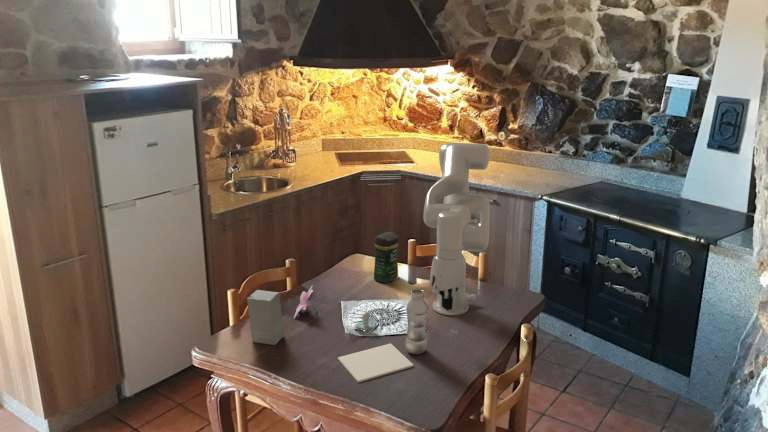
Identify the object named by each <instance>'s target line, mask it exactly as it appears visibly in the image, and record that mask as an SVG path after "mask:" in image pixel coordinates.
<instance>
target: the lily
mask: <svg viewBox="0 0 768 432" xmlns="http://www.w3.org/2000/svg"><path fill="white" fill-rule="evenodd" d="M312 288H313V285H311V287H309V289H308V291H307V292H306V291H302V292H301V295H300V298H299V300H298V301H299V302H300V303H299V304H298V306H297V307H296V308H295V309H296V311H295V313H294V316H293V319H296V317H297V314H299V312H300V310H304V311H305V310H307V309H306V308H307V307H308V306H309V307H310V306H311V307H312V309H314V310H315V311H316V313H318V311H319V310H317V309H316V307H315V306H314V305H312V304H311V299H310V298H311V297H310V296H311V294H313V292H314V290H313V289H312Z"/></svg>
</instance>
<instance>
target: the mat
mask: <svg viewBox="0 0 768 432" xmlns="http://www.w3.org/2000/svg"><path fill="white" fill-rule="evenodd" d="M337 360H338V361H339V363H340V364H341V365H342V366H343V367H344V369H346V371H347V372H348V373H349V374H350V376H351V377H352V378H353V379H354V380H355V382H357V383H362V382H364V381H369V380H372V379H375V378H378V377H382V376H386V375H389V374H393V373H397V372H399V371H403V370H407V369H410V368H413V367H414V363H412V361H410V360H409V359H408V358H407V357H406V356H405V355H404V354H403V353H402V352H400V351H399V349H397V348H396V347H395V346H394V345H393V344H392V343H391V342H390V343H386V344H383V345H379V346H375V347H372V348H369V349H365V350H361V351H357V352H353V353H349V354H346V355H342V356H337Z"/></svg>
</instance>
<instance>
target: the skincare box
mask: <svg viewBox="0 0 768 432" xmlns="http://www.w3.org/2000/svg"><path fill="white" fill-rule="evenodd" d="M246 300H247V301H246V302H247V308H248V315H249V324H250V331H251V338H252V343H258V344H259V343H260V344H266V345H272V346H276V345H277V344H278V343H279V341H281V339H283V338H284V336H285V330H284V323H283V314H282V305H281V297H280V292H277V291H268V290H262V289H256V290H255V291H253V293H251V294H250V296H248V297H246Z"/></svg>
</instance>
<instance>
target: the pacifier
mask: <svg viewBox="0 0 768 432" xmlns="http://www.w3.org/2000/svg"><path fill="white" fill-rule="evenodd" d="M370 313H371V312H369V311H366V312H365V313H364V314H363V315H362V321H360V322H358V323H356V324H354V326H353V328H354V327H355V329H357V330H356V331H361V329H362V330H366V331H369V330H370V329H372V328H373V327H375V325H376V320H375V318H371V314H370ZM356 326H357V327H356ZM369 328H370V329H369ZM355 329H354V330H355Z"/></svg>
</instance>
